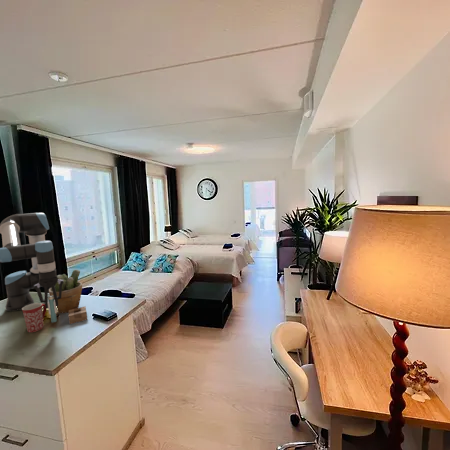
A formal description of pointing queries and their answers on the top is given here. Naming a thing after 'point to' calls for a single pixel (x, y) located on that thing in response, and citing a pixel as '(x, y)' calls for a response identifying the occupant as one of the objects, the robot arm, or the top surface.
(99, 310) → the top surface
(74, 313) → the wooden holder
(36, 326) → the mug
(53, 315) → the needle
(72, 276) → the potted plant
